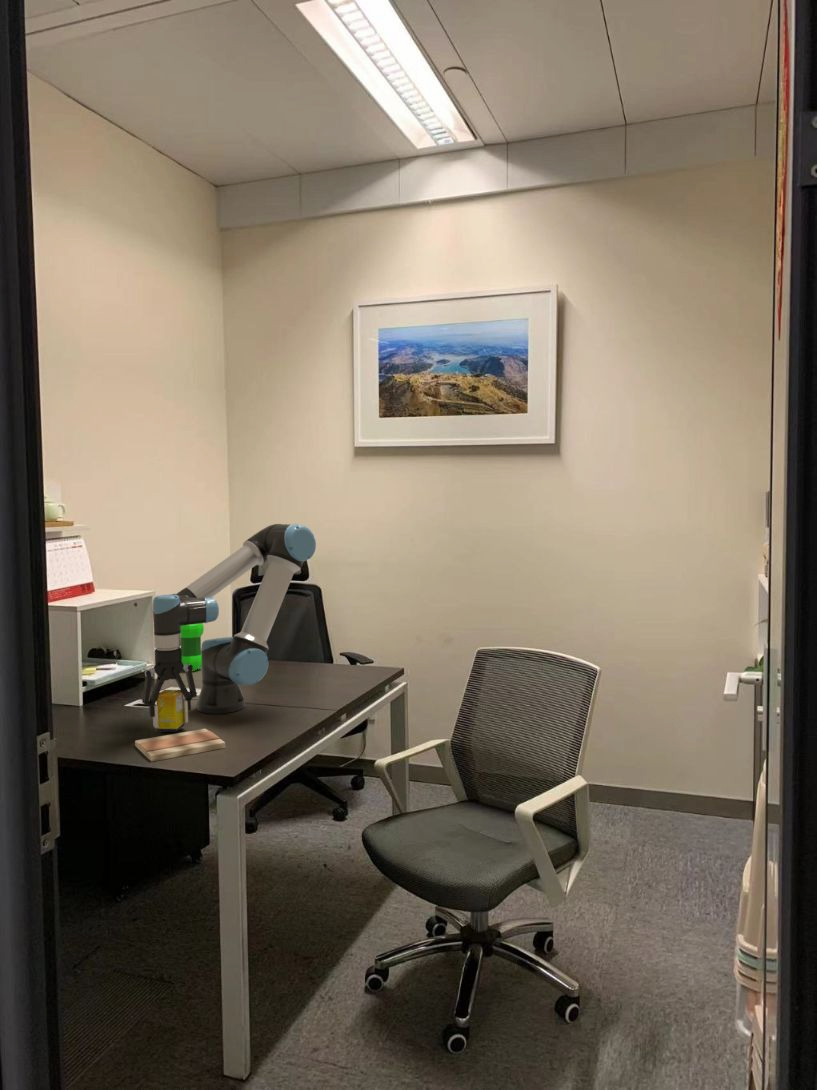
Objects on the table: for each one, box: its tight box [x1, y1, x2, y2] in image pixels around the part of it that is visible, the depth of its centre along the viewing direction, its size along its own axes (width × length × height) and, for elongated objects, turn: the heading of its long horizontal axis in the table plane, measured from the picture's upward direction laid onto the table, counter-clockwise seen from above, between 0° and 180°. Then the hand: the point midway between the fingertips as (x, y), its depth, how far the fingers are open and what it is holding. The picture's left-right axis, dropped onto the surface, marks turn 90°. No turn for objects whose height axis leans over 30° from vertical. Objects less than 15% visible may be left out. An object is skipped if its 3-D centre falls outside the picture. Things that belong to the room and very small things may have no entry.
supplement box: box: [156, 689, 185, 732], centre depth 230 cm, size 6×6×11 cm
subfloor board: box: [134, 728, 226, 763], centre depth 216 cm, size 20×16×2 cm
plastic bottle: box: [180, 623, 205, 671], centre depth 314 cm, size 10×10×25 cm
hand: (170, 724), depth 230 cm, fingers closed on supplement box, 8 cm apart
